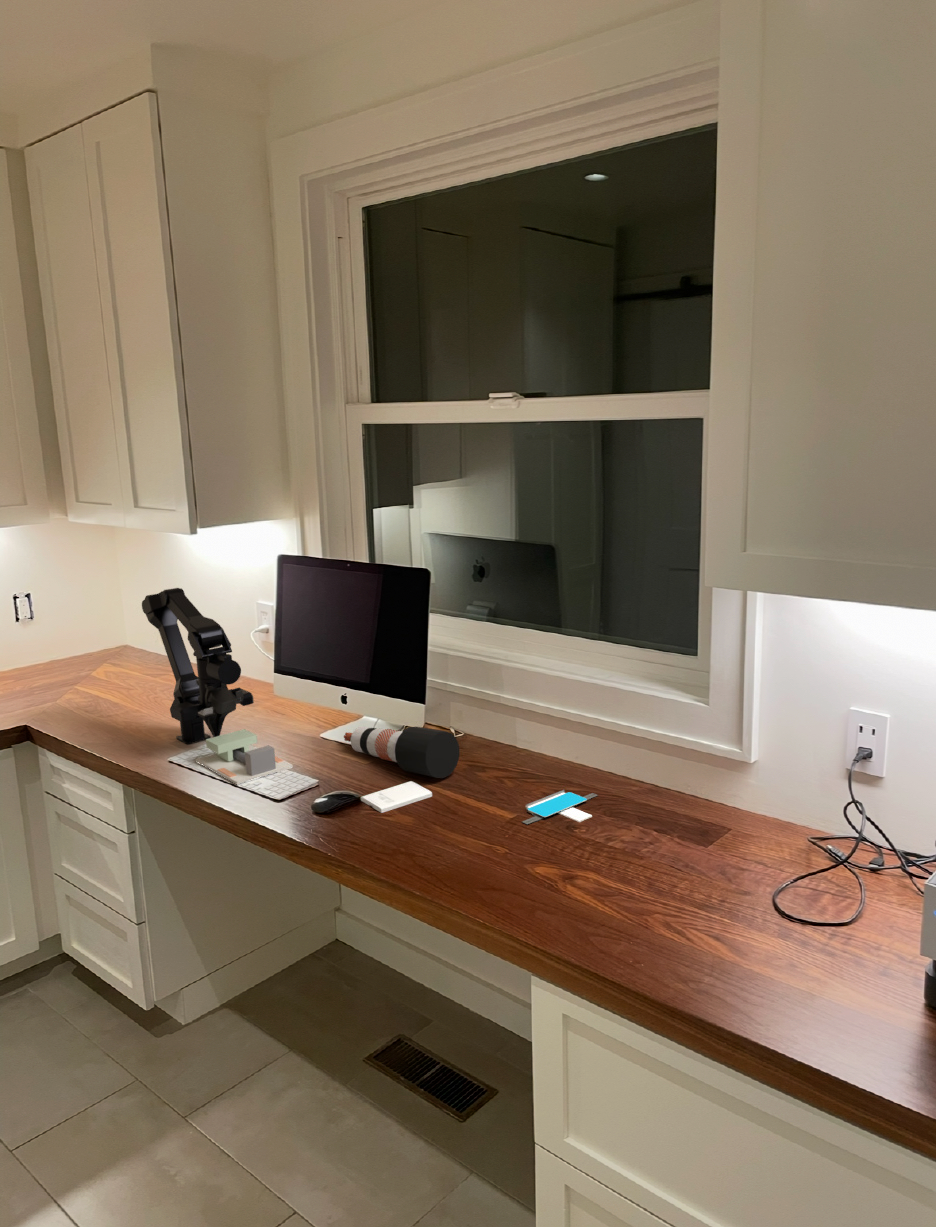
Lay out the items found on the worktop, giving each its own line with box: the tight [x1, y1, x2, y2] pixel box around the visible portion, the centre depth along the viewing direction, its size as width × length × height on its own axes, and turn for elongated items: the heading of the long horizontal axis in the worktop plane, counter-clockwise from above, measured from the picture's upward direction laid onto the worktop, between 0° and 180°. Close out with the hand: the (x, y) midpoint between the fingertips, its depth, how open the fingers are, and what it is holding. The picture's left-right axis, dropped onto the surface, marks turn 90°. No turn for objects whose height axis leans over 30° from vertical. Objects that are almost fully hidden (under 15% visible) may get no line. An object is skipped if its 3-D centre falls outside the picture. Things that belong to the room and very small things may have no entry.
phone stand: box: [522, 789, 598, 825], centre depth 184 cm, size 20×12×2 cm, turn 130°
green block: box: [205, 728, 258, 761], centre depth 218 cm, size 6×10×4 cm, turn 132°
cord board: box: [195, 744, 293, 785], centre depth 214 cm, size 20×14×6 cm
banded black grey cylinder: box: [343, 726, 460, 779], centre depth 213 cm, size 10×34×10 cm, turn 45°
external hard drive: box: [360, 780, 433, 814], centre depth 193 cm, size 2×8×12 cm
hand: (216, 738), depth 223 cm, fingers closed
